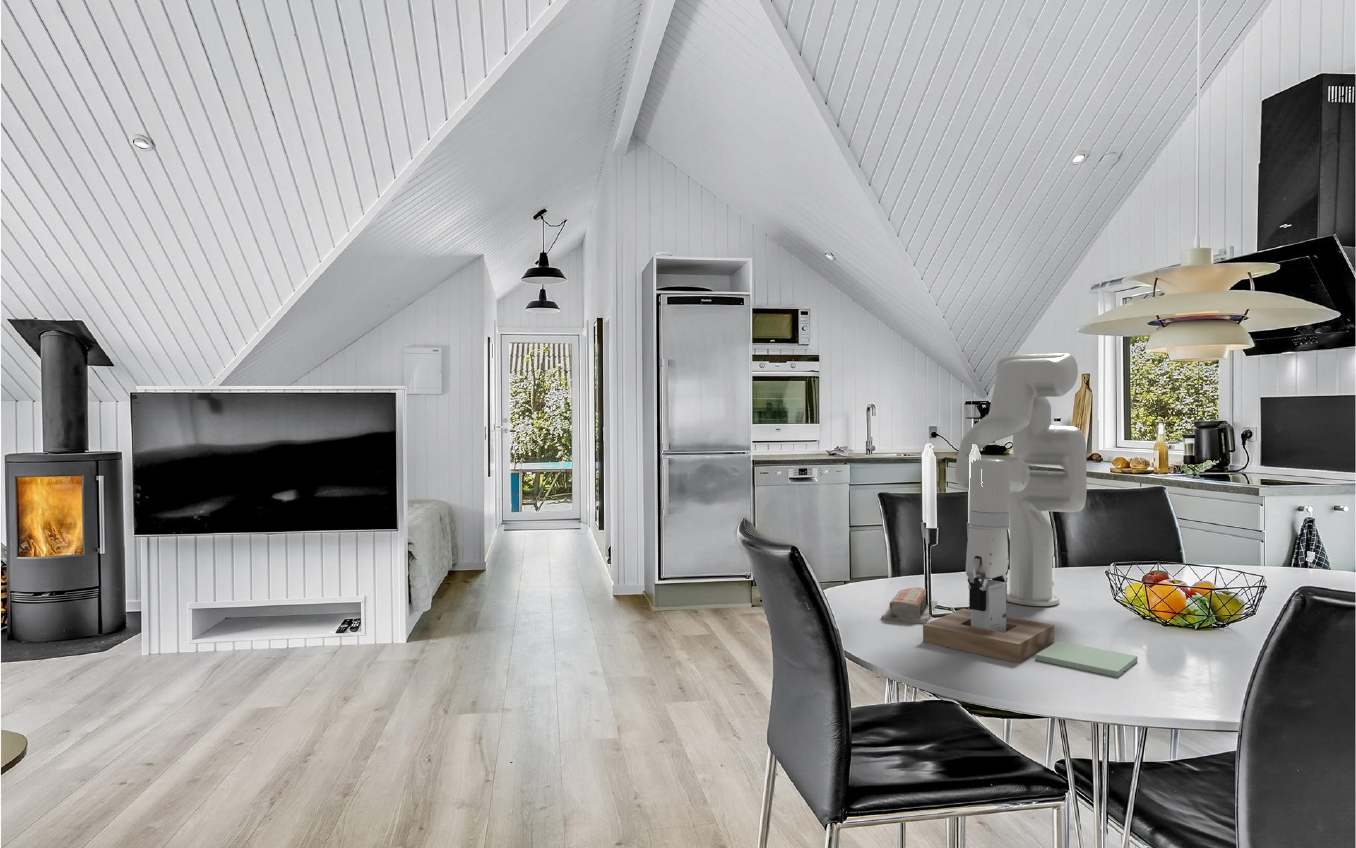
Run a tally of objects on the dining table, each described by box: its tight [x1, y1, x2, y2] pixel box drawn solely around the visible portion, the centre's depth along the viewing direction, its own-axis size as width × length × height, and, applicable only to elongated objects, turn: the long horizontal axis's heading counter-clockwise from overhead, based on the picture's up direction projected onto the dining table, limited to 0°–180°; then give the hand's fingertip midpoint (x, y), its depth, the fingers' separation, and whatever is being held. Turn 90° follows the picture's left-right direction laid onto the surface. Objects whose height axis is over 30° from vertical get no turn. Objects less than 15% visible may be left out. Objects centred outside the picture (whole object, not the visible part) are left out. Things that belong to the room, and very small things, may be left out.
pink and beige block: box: [881, 587, 938, 625], centre depth 186 cm, size 18×5×10 cm
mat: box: [1034, 640, 1139, 678], centre depth 150 cm, size 12×14×1 cm
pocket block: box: [922, 608, 1055, 664], centre depth 162 cm, size 18×19×4 cm
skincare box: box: [970, 579, 1007, 633], centre depth 162 cm, size 6×4×12 cm
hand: (988, 605), depth 162 cm, fingers open, 9 cm apart
